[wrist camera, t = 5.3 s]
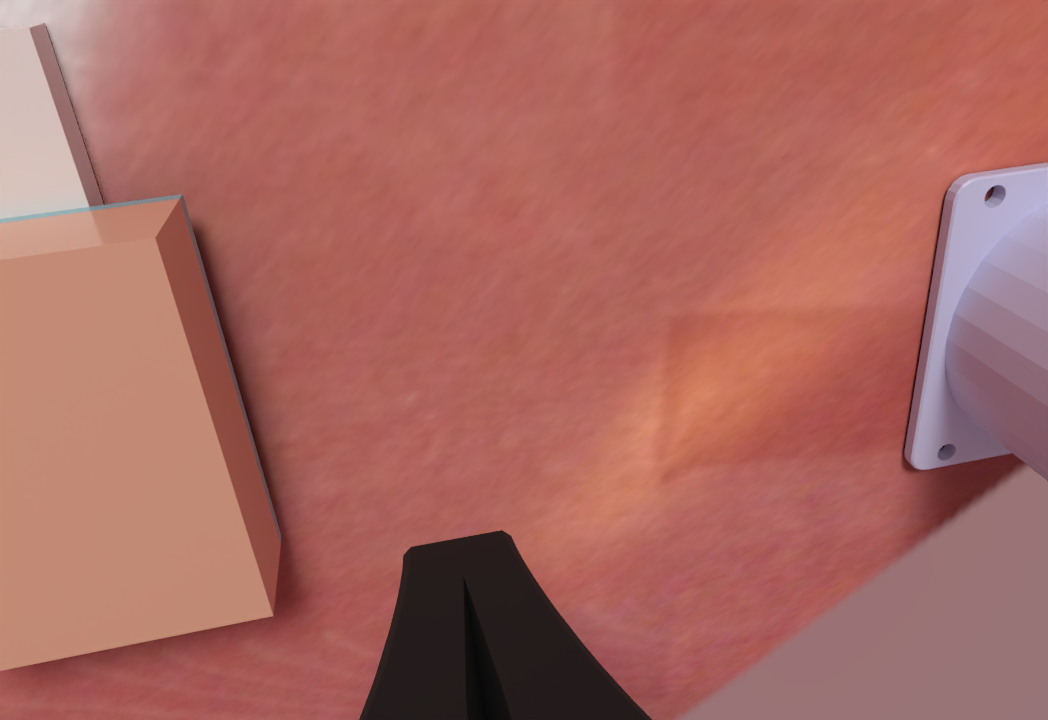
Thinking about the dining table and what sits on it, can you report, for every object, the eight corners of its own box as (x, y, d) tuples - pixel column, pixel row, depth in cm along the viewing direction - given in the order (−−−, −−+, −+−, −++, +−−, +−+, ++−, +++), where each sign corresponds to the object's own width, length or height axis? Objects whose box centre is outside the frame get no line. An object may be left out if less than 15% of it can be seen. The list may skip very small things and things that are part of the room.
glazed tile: (154, 237, 13) (-344, 308, 12) (273, 615, 17) (-102, 691, 16) (182, 193, 15) (-238, 251, 14) (281, 537, 19) (-48, 599, 18)
